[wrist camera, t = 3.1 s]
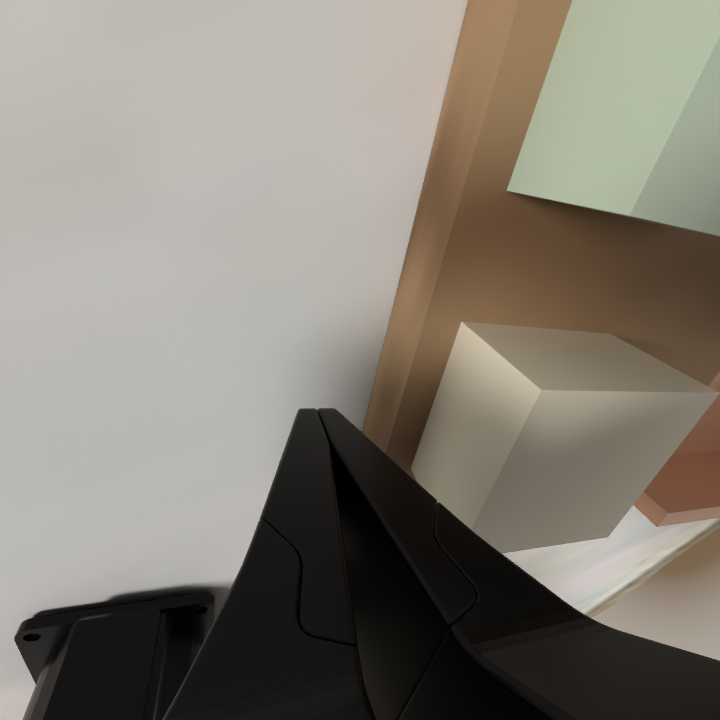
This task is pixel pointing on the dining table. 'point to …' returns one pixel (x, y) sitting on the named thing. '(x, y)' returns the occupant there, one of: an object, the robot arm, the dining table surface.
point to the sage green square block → (631, 114)
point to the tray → (688, 475)
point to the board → (525, 240)
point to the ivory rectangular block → (550, 432)
